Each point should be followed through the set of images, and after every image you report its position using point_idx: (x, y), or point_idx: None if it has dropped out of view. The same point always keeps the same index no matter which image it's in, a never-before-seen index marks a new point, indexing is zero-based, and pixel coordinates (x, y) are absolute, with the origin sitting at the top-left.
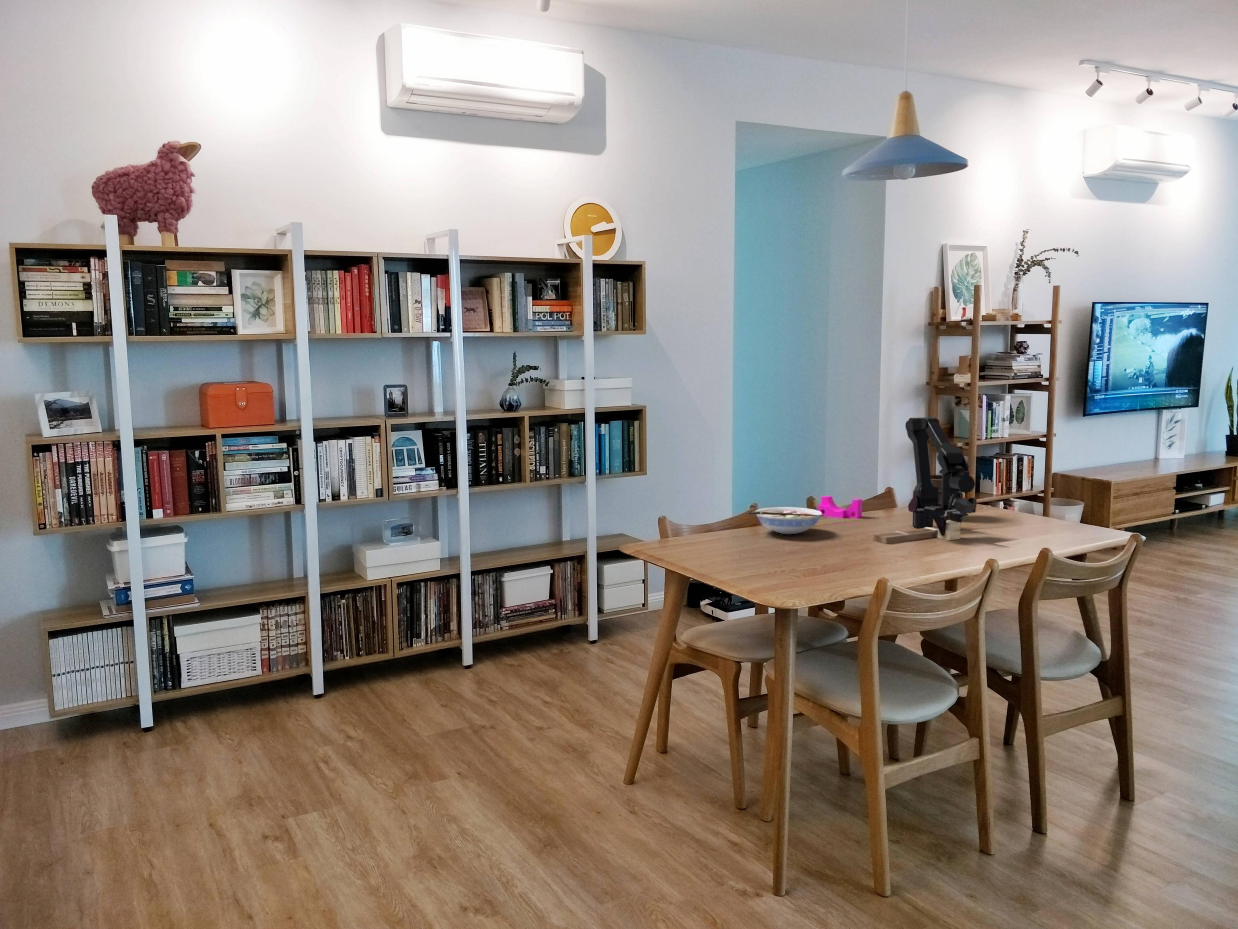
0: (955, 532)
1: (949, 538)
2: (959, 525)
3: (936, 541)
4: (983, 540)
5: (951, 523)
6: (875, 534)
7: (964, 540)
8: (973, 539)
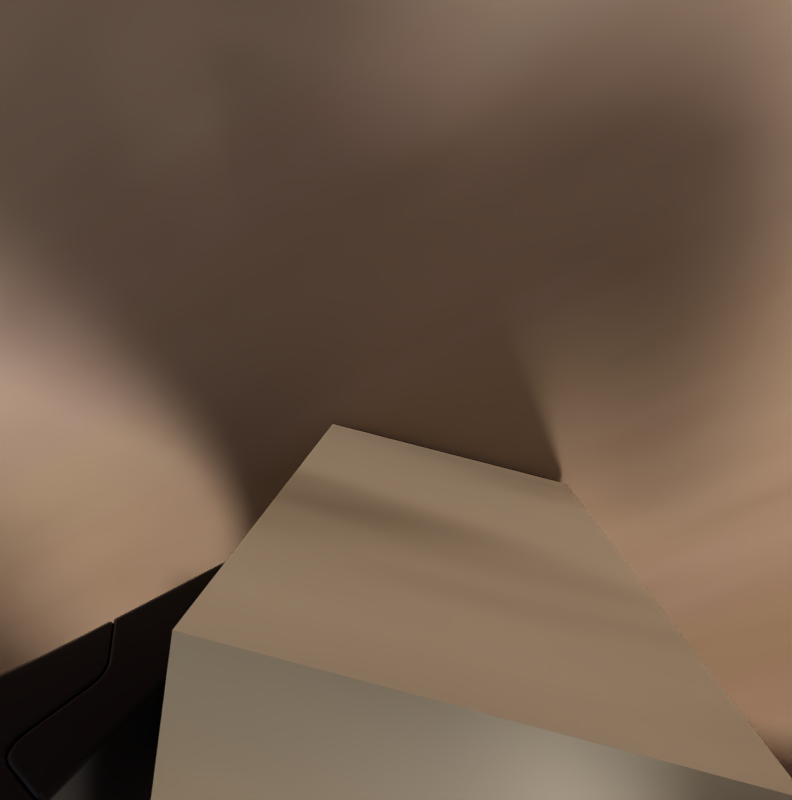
0: (440, 505)
1: (574, 496)
2: (275, 566)
3: (745, 585)
4: (127, 80)
5: (679, 782)
6: None
7: (372, 324)
8: (186, 260)
